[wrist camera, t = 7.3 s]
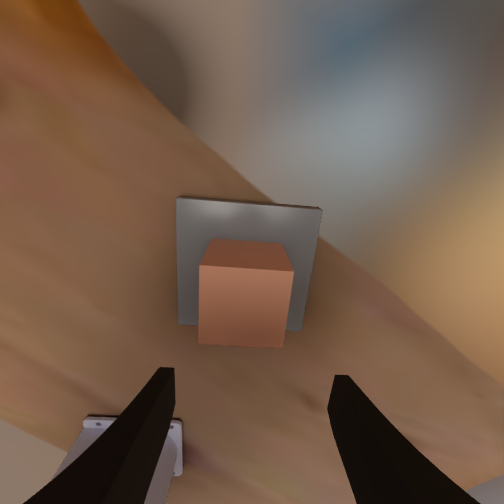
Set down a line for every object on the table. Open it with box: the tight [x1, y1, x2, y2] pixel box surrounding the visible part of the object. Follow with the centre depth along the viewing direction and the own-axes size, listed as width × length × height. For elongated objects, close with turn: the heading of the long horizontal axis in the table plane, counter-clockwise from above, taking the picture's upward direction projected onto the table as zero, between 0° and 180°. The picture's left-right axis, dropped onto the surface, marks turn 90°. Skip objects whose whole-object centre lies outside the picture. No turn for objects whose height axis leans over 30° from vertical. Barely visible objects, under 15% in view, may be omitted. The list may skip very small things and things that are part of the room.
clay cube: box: [198, 238, 294, 348], centre depth 16 cm, size 5×5×5 cm
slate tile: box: [176, 196, 323, 331], centre depth 19 cm, size 10×10×1 cm
